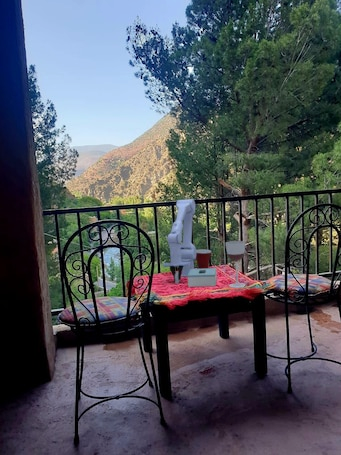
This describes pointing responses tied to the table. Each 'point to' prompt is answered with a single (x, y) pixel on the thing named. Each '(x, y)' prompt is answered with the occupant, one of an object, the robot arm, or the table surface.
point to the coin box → (202, 277)
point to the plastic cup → (203, 258)
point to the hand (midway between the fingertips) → (177, 279)
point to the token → (177, 277)
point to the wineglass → (236, 257)
